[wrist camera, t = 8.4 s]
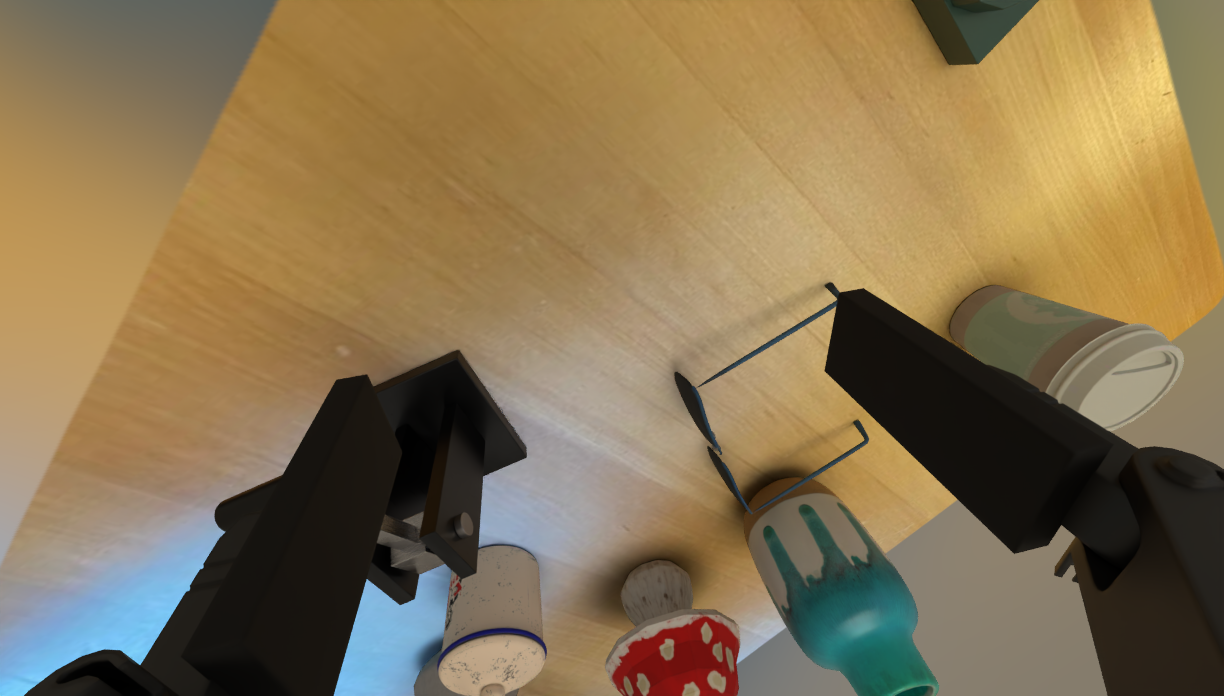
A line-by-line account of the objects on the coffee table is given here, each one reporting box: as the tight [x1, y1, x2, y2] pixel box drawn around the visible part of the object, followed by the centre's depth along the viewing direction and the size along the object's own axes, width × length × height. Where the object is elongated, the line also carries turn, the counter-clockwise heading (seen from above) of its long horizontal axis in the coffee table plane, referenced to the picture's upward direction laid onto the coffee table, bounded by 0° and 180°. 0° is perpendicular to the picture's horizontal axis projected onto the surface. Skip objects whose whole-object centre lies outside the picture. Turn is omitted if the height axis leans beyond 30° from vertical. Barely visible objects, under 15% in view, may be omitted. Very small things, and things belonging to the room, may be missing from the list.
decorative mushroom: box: [605, 560, 740, 696], centre depth 46 cm, size 14×14×15 cm
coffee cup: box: [950, 285, 1184, 431], centre depth 37 cm, size 8×8×12 cm
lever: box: [215, 475, 445, 574], centre depth 24 cm, size 12×5×2 cm, turn 22°
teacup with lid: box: [437, 546, 547, 696], centre depth 43 cm, size 12×9×12 cm
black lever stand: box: [367, 350, 527, 605], centre depth 32 cm, size 11×9×13 cm
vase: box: [744, 477, 939, 696], centre depth 41 cm, size 11×11×19 cm
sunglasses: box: [674, 283, 869, 514], centre depth 41 cm, size 17×15×5 cm
